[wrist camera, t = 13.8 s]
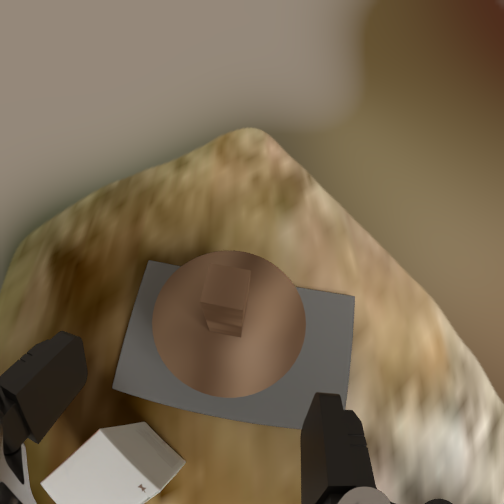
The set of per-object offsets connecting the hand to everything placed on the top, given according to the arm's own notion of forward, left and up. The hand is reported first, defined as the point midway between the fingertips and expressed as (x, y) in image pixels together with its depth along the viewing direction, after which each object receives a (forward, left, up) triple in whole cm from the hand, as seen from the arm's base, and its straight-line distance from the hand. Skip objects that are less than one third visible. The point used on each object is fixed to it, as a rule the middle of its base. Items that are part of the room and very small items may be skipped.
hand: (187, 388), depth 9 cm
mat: (-1, -5, -19) cm, 20 cm away
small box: (+6, +9, -19) cm, 22 cm away
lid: (0, -6, -14) cm, 15 cm away
